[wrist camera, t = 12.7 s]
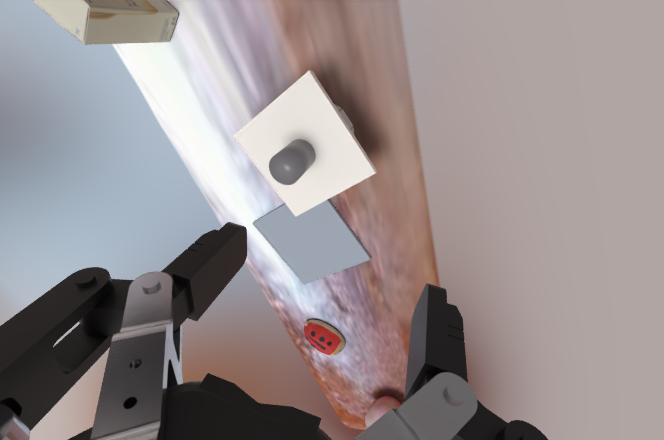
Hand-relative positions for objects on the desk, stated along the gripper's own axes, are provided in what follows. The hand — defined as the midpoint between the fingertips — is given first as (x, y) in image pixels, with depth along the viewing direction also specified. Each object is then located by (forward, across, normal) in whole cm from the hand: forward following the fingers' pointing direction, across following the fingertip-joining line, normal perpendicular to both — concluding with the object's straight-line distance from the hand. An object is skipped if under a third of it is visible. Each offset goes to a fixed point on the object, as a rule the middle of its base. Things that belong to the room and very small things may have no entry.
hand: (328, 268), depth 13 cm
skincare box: (+30, +34, -6) cm, 46 cm away
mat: (+30, +9, +23) cm, 39 cm away
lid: (+24, +10, +6) cm, 27 cm away
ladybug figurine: (+31, +3, +46) cm, 56 cm away
